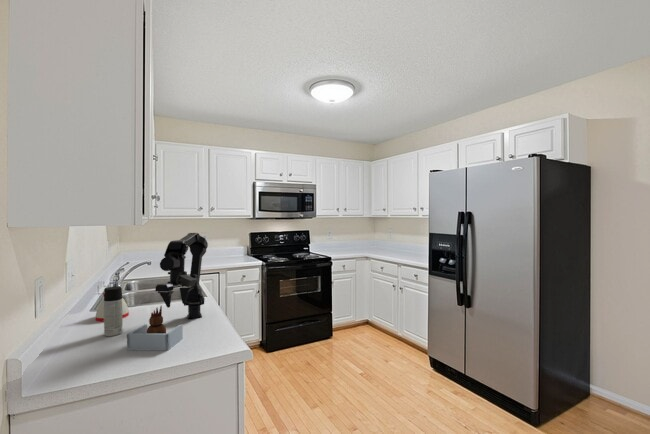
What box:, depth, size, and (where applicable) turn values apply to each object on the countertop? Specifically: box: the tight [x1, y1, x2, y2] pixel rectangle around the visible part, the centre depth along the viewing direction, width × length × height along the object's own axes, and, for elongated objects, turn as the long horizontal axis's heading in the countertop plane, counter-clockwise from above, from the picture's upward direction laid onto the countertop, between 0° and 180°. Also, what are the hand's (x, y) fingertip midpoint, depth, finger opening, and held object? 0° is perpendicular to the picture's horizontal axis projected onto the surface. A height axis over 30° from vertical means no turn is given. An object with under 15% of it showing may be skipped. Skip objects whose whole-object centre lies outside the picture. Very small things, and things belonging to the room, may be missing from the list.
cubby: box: [126, 323, 183, 351], centre depth 126 cm, size 11×16×6 cm
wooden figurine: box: [147, 305, 167, 334], centre depth 127 cm, size 7×6×15 cm
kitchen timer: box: [95, 292, 130, 323], centre depth 161 cm, size 14×14×15 cm
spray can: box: [103, 285, 124, 337], centre depth 138 cm, size 7×7×20 cm
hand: (176, 305), depth 139 cm, fingers open, 9 cm apart
